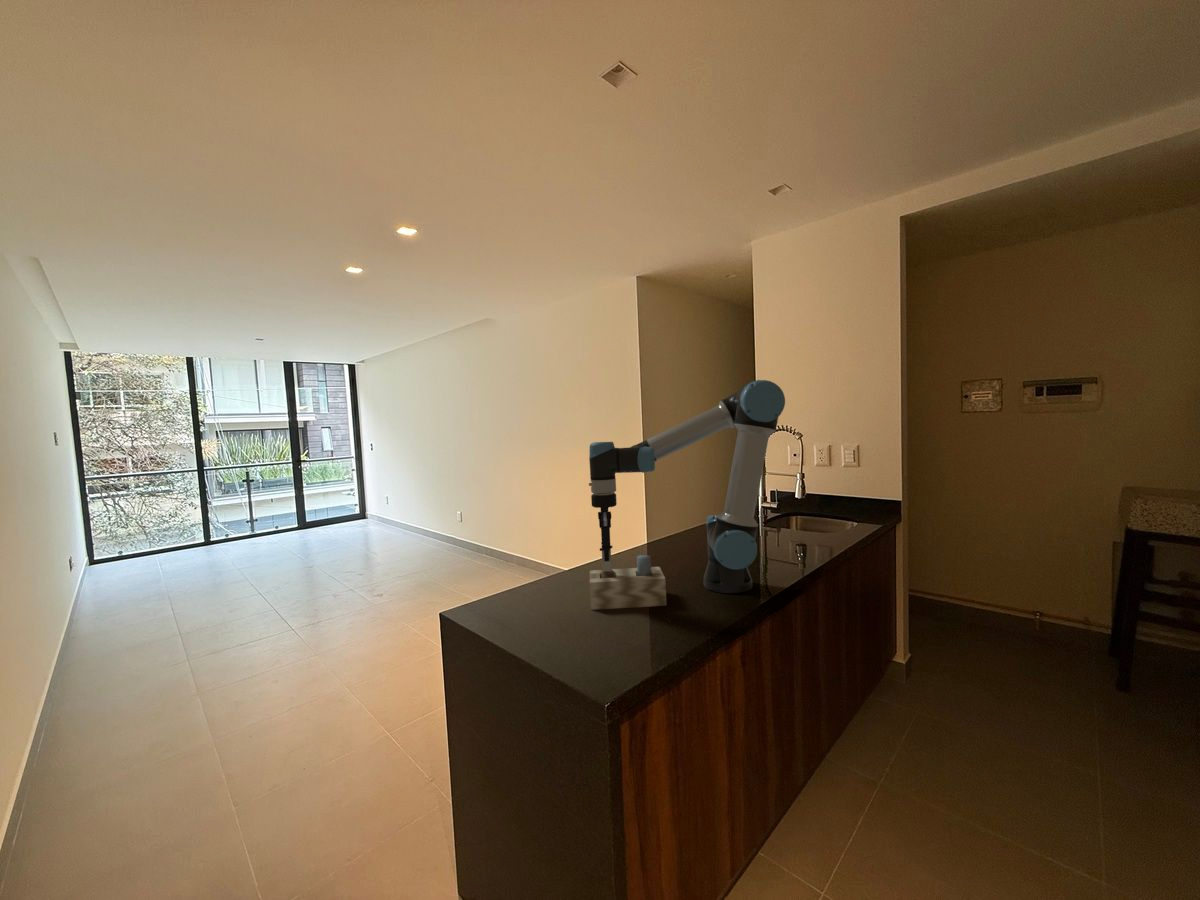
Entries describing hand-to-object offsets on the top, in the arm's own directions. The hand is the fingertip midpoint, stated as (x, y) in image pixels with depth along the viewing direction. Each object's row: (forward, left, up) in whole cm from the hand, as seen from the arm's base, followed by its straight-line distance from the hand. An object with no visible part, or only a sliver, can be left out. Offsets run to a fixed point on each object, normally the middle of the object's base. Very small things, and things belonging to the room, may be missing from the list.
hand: (607, 570), depth 144 cm
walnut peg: (0, 0, -8) cm, 8 cm away
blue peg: (-11, 0, -4) cm, 12 cm away
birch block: (-6, 0, -9) cm, 11 cm away
